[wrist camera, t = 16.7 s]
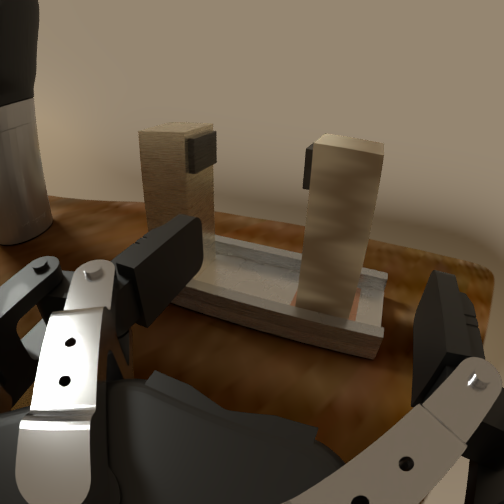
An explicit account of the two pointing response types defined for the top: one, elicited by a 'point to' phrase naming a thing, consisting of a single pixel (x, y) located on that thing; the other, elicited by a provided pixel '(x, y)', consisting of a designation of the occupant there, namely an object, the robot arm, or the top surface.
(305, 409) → the top surface
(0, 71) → the robot arm
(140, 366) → the top surface
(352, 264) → the beige tall rectangular block
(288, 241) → the top surface
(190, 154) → the rail
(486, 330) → the top surface
